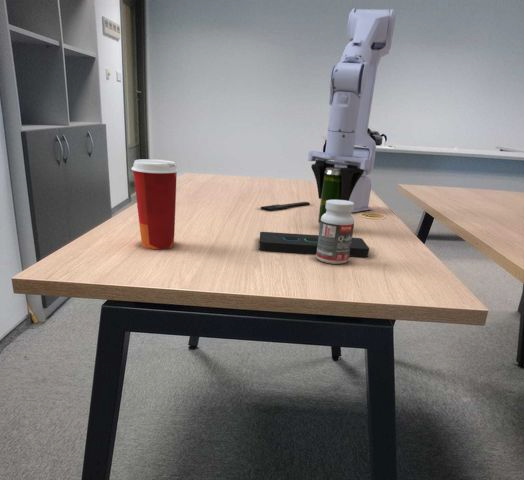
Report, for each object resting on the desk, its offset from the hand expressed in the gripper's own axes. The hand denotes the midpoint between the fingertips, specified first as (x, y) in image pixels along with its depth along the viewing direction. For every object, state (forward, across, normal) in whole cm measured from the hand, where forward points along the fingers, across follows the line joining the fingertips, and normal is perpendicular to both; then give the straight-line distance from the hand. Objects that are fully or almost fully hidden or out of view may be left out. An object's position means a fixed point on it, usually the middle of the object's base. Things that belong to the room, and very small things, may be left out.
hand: (333, 200), depth 102 cm
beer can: (+6, 0, 0) cm, 6 cm away
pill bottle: (+6, +15, -19) cm, 25 cm away
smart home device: (+6, +8, -16) cm, 19 cm away
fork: (+6, -22, +10) cm, 25 cm away
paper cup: (+6, -9, -39) cm, 41 cm away
